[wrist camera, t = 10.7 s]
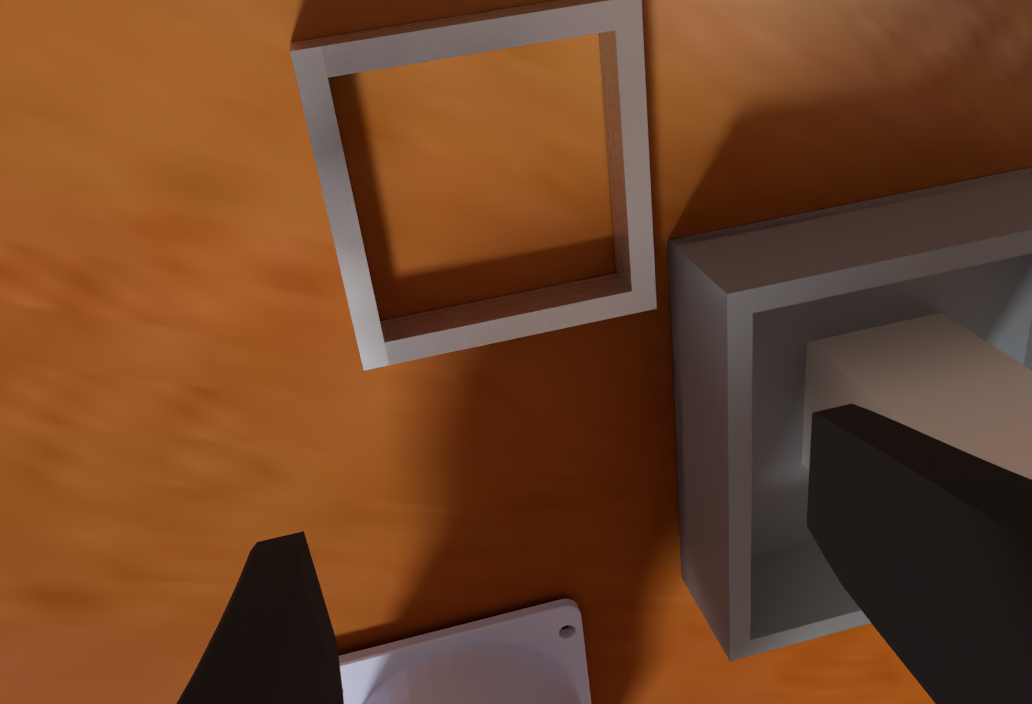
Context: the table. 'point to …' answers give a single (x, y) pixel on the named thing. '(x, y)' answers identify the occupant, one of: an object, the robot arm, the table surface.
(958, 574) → the robot arm
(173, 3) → the table surface
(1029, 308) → the bin
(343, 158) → the steel socket
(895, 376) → the strut
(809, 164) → the table surface
